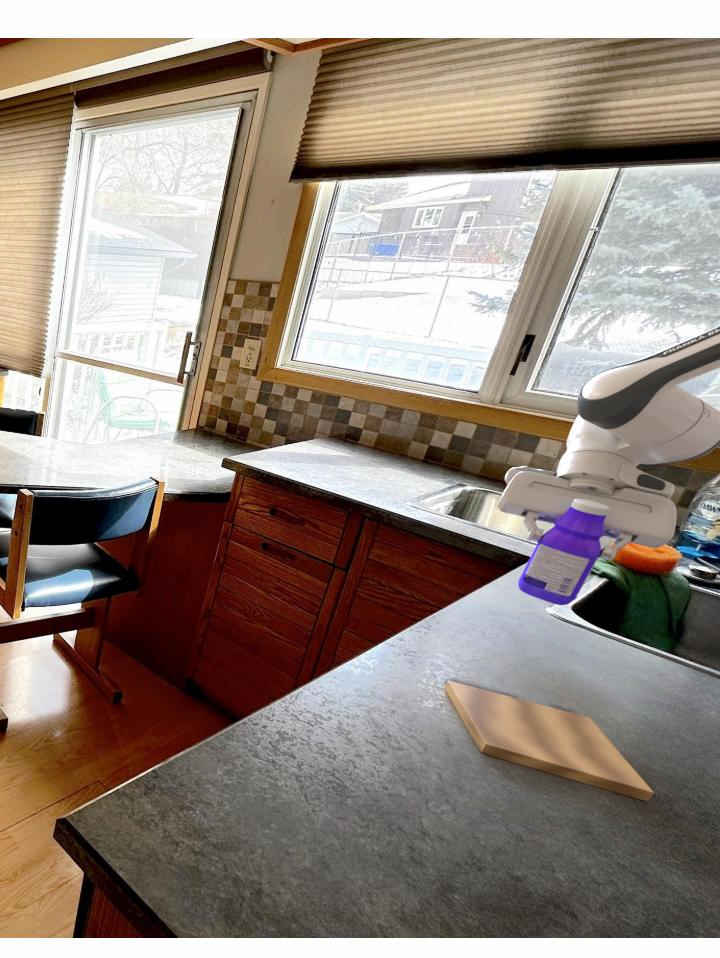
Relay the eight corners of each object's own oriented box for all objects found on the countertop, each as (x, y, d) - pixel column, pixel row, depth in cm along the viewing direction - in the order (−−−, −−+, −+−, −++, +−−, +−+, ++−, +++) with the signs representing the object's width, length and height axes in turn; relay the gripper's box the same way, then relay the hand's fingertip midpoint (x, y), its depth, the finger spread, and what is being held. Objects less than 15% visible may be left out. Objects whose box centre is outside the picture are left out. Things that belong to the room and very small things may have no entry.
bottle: (576, 602, 102) (627, 507, 96) (568, 611, 99) (619, 514, 93) (520, 583, 108) (564, 492, 102) (510, 590, 105) (555, 497, 99)
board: (584, 726, 84) (589, 717, 84) (648, 802, 72) (654, 792, 72) (444, 688, 90) (448, 680, 89) (481, 753, 78) (486, 744, 77)
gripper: (515, 454, 107) (491, 519, 104) (690, 488, 95) (670, 563, 91) (505, 472, 112) (481, 535, 109) (670, 507, 99) (650, 579, 96)
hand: (569, 548), depth 100 cm, fingers closed on bottle, 7 cm apart
